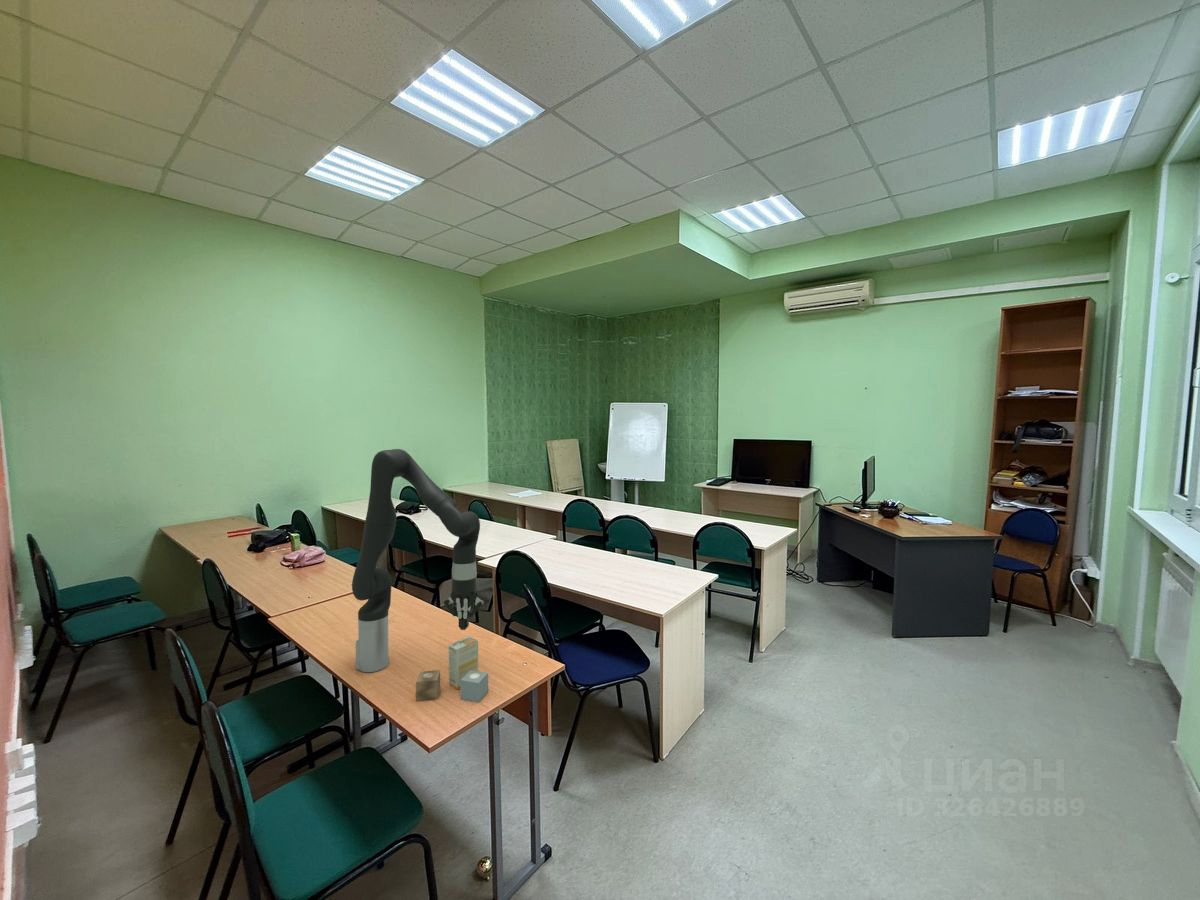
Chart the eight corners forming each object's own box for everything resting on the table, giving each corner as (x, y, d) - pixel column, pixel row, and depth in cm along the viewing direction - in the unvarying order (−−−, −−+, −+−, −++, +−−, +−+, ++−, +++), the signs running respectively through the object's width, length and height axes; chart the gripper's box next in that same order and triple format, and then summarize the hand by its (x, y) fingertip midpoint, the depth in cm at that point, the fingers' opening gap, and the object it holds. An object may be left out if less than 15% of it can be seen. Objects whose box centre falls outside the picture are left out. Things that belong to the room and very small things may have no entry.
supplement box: (470, 674, 154) (470, 635, 154) (479, 679, 151) (478, 639, 151) (448, 684, 148) (447, 644, 147) (456, 690, 145) (456, 648, 144)
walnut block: (416, 701, 139) (415, 681, 138) (420, 690, 145) (419, 671, 144) (437, 699, 140) (437, 679, 140) (440, 688, 146) (440, 669, 145)
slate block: (460, 699, 140) (460, 679, 140) (470, 688, 146) (470, 669, 145) (478, 702, 138) (478, 682, 138) (488, 691, 144) (488, 672, 144)
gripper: (439, 578, 145) (438, 633, 146) (480, 580, 144) (480, 635, 145) (448, 570, 152) (448, 623, 153) (488, 572, 151) (487, 625, 152)
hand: (463, 628), depth 149 cm, fingers closed
